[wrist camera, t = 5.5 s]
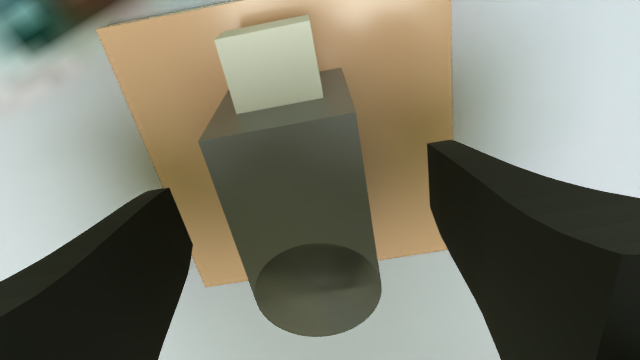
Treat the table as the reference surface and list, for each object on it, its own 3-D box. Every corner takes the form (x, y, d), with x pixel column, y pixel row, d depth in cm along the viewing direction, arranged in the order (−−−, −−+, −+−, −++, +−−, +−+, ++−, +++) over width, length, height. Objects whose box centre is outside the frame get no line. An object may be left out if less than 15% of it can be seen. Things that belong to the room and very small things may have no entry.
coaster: (447, 236, 16) (454, 248, 16) (209, 273, 17) (205, 287, 16) (441, -40, 11) (450, -40, 11) (108, 25, 12) (95, 29, 11)
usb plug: (368, 242, 15) (387, 326, 12) (279, 257, 16) (271, 344, 12) (331, 3, 11) (342, 24, 8) (210, 28, 11) (168, 58, 8)
